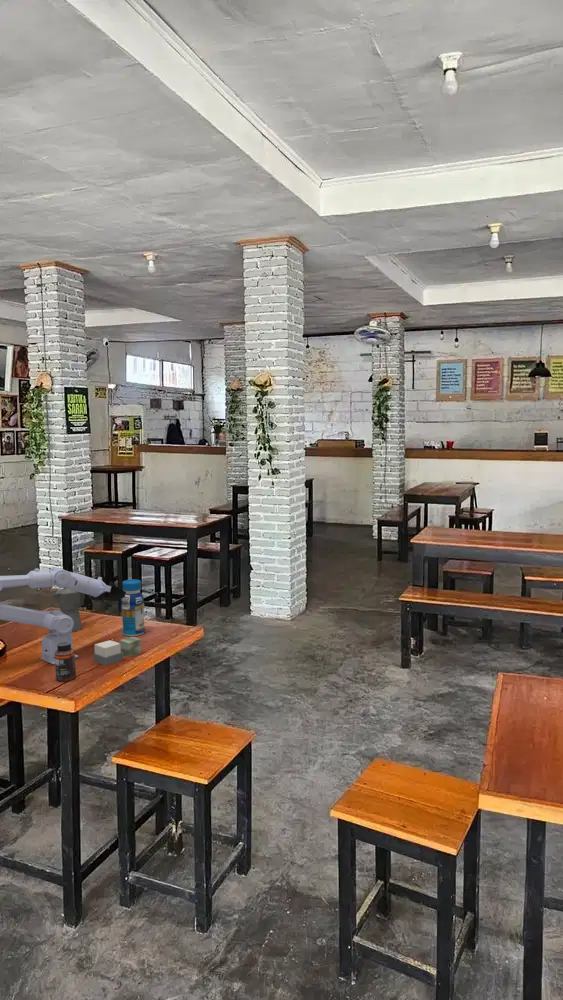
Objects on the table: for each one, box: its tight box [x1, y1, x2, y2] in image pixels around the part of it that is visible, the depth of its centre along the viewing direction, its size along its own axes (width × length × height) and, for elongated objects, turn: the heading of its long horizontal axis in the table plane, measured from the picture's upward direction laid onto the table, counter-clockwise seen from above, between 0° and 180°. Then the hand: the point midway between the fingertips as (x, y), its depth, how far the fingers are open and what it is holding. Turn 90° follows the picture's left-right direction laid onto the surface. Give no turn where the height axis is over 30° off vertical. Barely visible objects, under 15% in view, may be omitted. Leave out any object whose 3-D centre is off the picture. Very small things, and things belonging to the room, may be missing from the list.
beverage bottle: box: [120, 579, 146, 637], centre depth 262 cm, size 8×8×20 cm
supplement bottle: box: [54, 642, 77, 682], centre depth 218 cm, size 6×6×11 cm
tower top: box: [94, 639, 121, 657], centre depth 234 cm, size 6×6×3 cm
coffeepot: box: [51, 587, 90, 633], centre depth 270 cm, size 15×9×18 cm, turn 133°
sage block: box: [119, 636, 142, 658], centre depth 241 cm, size 5×5×5 cm
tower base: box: [92, 652, 124, 667], centre depth 234 cm, size 7×7×3 cm
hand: (119, 594), depth 247 cm, fingers open, 7 cm apart
